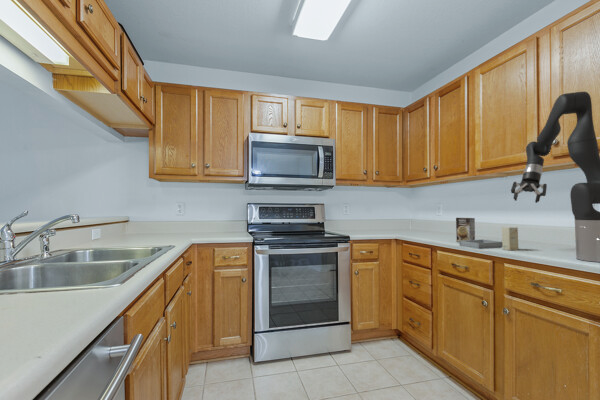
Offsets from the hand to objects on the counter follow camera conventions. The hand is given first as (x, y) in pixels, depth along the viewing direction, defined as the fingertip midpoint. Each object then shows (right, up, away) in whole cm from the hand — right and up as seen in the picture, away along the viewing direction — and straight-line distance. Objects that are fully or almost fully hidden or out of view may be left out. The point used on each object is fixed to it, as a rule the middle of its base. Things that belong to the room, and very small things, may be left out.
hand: (525, 201), depth 146 cm
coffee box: (-9, -28, +38) cm, 47 cm away
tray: (-12, -27, +18) cm, 34 cm away
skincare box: (-5, -27, +4) cm, 27 cm away
